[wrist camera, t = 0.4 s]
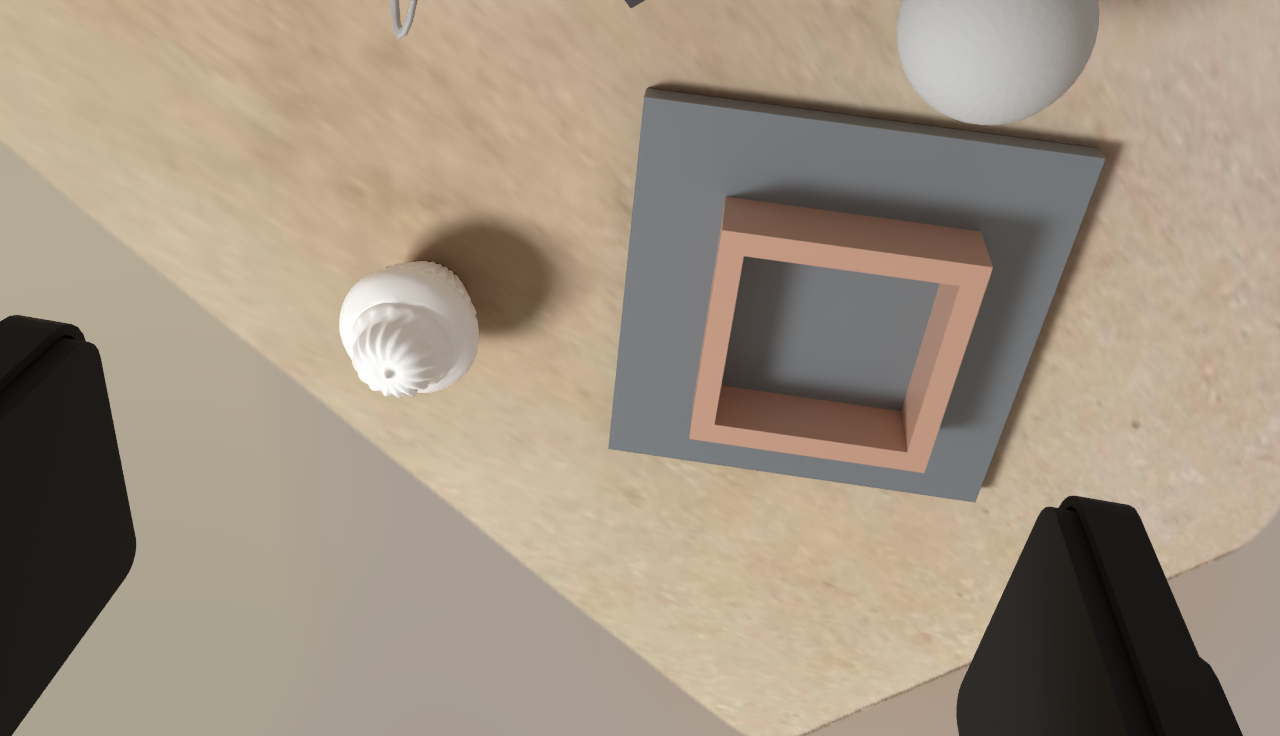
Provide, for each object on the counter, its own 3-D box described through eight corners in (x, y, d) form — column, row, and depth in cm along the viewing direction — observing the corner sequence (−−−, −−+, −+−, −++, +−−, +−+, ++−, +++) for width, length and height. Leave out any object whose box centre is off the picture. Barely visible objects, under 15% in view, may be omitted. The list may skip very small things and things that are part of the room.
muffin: (467, 218, 46) (422, 301, 41) (516, 332, 50) (481, 423, 44) (343, 247, 48) (284, 330, 42) (399, 356, 51) (350, 447, 45)
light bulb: (1083, -44, 37) (1168, 45, 29) (958, 80, 40) (1002, 192, 32) (968, -158, 36) (1023, -98, 28) (846, -20, 39) (863, 71, 31)
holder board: (646, 88, 42) (635, 126, 39) (1099, 148, 41) (1126, 192, 38) (611, 436, 52) (599, 489, 49) (972, 488, 52) (985, 546, 49)
